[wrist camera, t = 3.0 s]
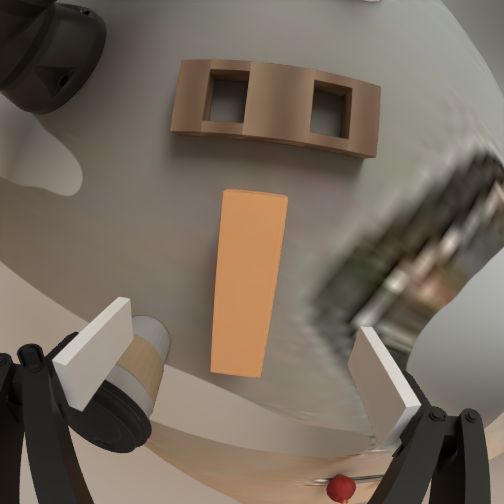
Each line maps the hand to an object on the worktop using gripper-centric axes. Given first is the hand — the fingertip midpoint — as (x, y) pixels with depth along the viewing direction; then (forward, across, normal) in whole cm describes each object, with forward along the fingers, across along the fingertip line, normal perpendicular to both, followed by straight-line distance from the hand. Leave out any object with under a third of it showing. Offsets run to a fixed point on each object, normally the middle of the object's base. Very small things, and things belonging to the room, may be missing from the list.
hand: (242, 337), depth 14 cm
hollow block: (+13, +1, +16) cm, 20 cm away
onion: (+14, +23, -44) cm, 51 cm away
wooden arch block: (+13, 0, 0) cm, 13 cm away
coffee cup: (+14, -11, -10) cm, 21 cm away
